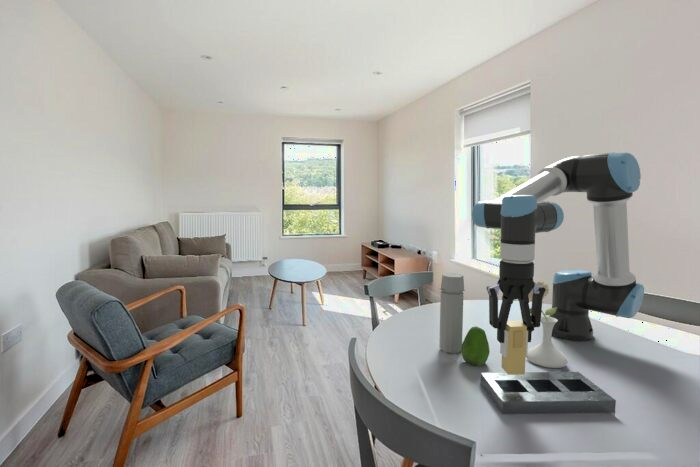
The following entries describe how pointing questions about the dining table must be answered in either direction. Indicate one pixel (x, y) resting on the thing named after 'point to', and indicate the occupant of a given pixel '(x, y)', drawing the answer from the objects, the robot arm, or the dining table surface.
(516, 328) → the yellow tall block
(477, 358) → the avocado
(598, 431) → the dining table surface
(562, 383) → the jack panel
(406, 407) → the dining table surface
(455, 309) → the water bottle
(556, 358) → the flower in vase
